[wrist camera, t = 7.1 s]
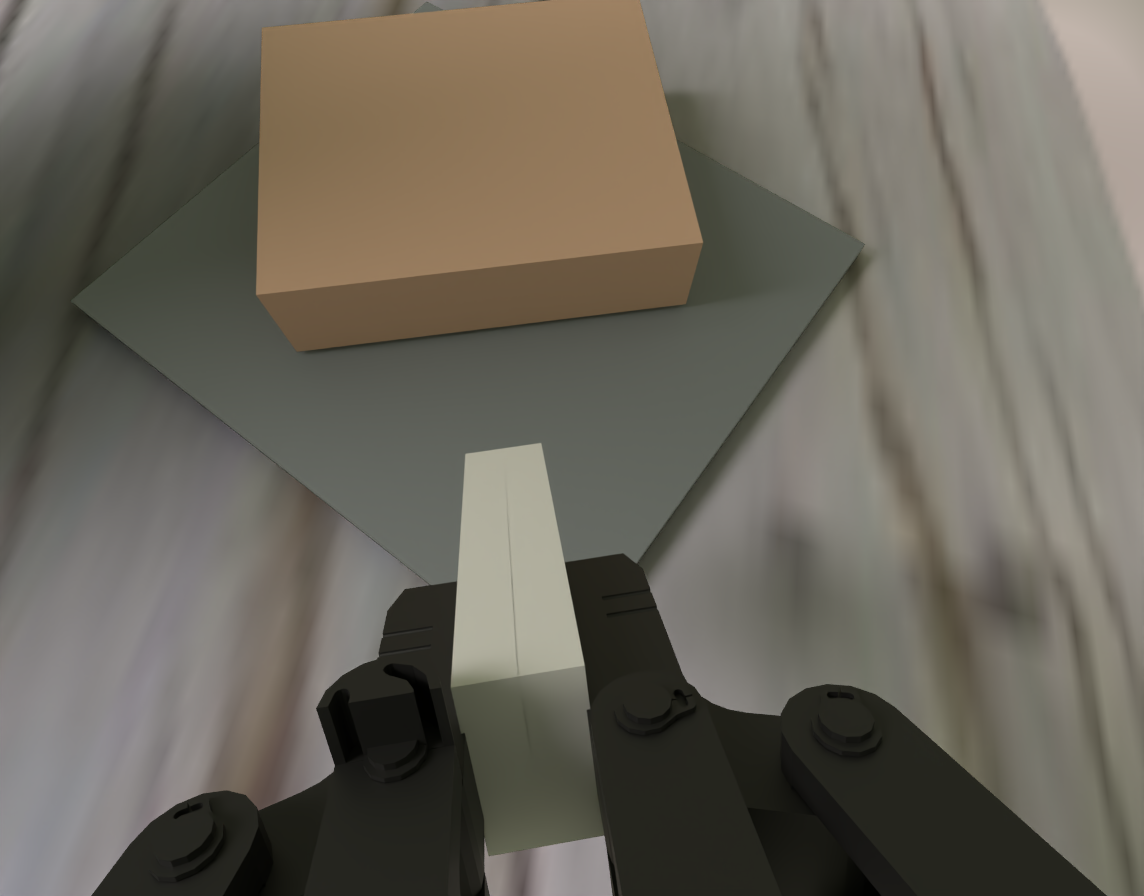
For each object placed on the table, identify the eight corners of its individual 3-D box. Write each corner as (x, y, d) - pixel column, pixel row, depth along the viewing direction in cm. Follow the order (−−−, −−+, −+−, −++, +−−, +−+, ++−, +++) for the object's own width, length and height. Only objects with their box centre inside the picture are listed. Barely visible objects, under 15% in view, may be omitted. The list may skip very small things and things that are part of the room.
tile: (703, 242, 19) (637, -8, 23) (256, 294, 18) (261, 27, 22) (684, 307, 22) (629, 76, 26) (299, 355, 21) (298, 110, 25)
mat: (82, 311, 23) (70, 300, 22) (429, 15, 28) (427, 1, 27) (552, 681, 19) (552, 680, 18) (858, 255, 24) (865, 244, 23)
